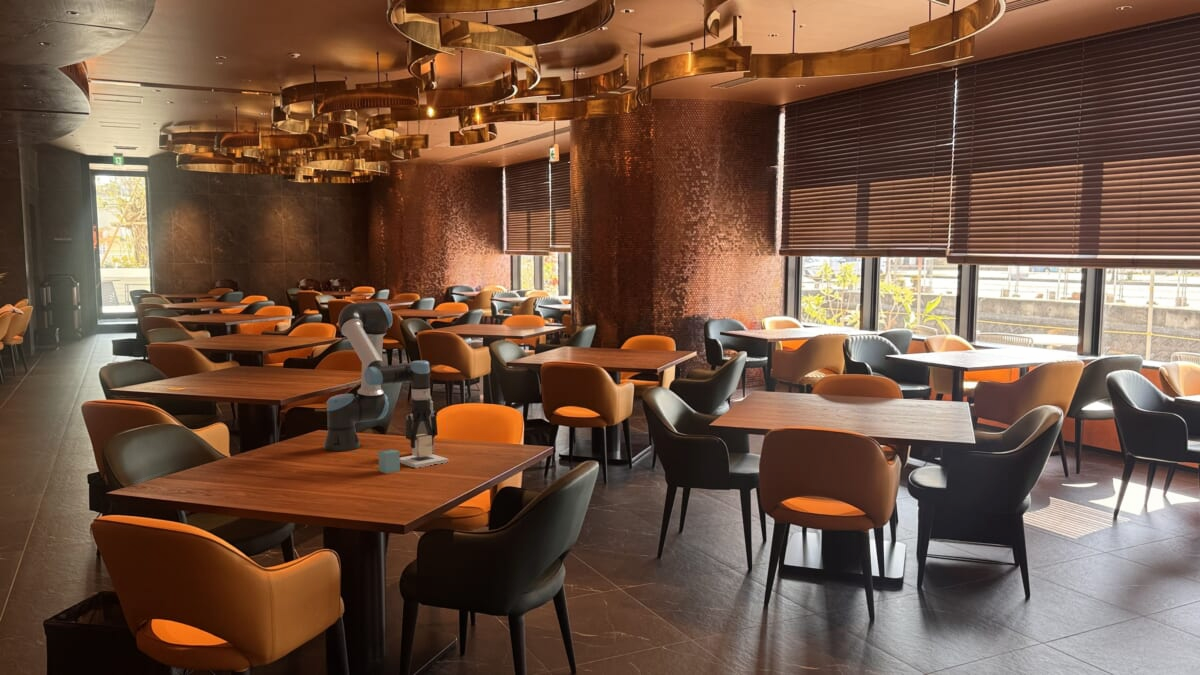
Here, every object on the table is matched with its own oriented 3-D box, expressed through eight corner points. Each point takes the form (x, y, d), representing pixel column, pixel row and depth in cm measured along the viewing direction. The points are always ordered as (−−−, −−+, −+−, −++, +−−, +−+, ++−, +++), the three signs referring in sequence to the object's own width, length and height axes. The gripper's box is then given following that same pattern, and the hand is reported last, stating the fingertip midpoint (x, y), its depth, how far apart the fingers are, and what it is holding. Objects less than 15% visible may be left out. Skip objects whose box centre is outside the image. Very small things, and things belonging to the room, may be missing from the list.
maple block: (412, 454, 369) (411, 435, 369) (424, 452, 373) (424, 433, 373) (419, 457, 365) (418, 437, 364) (432, 455, 369) (431, 435, 368)
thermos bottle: (435, 450, 391) (434, 387, 388) (431, 454, 383) (430, 389, 380) (417, 450, 391) (415, 387, 388) (413, 454, 383) (411, 389, 380)
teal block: (378, 471, 354) (378, 451, 354) (392, 468, 358) (392, 448, 358) (386, 473, 350) (385, 453, 349) (400, 471, 354) (399, 451, 353)
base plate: (396, 461, 370) (396, 457, 370) (428, 456, 380) (428, 452, 380) (415, 468, 358) (415, 464, 358) (448, 462, 368) (448, 458, 368)
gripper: (404, 402, 358) (405, 459, 360) (446, 397, 370) (447, 452, 372) (395, 400, 364) (396, 456, 366) (436, 395, 376) (437, 449, 378)
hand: (422, 454), depth 369 cm, fingers closed on maple block, 6 cm apart
